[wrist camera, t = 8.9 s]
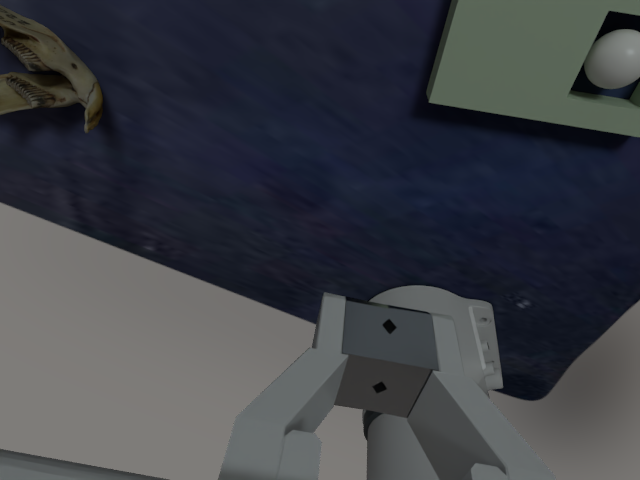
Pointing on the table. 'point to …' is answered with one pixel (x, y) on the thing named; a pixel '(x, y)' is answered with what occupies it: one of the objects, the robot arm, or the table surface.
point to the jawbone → (45, 55)
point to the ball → (614, 59)
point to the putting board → (528, 62)
